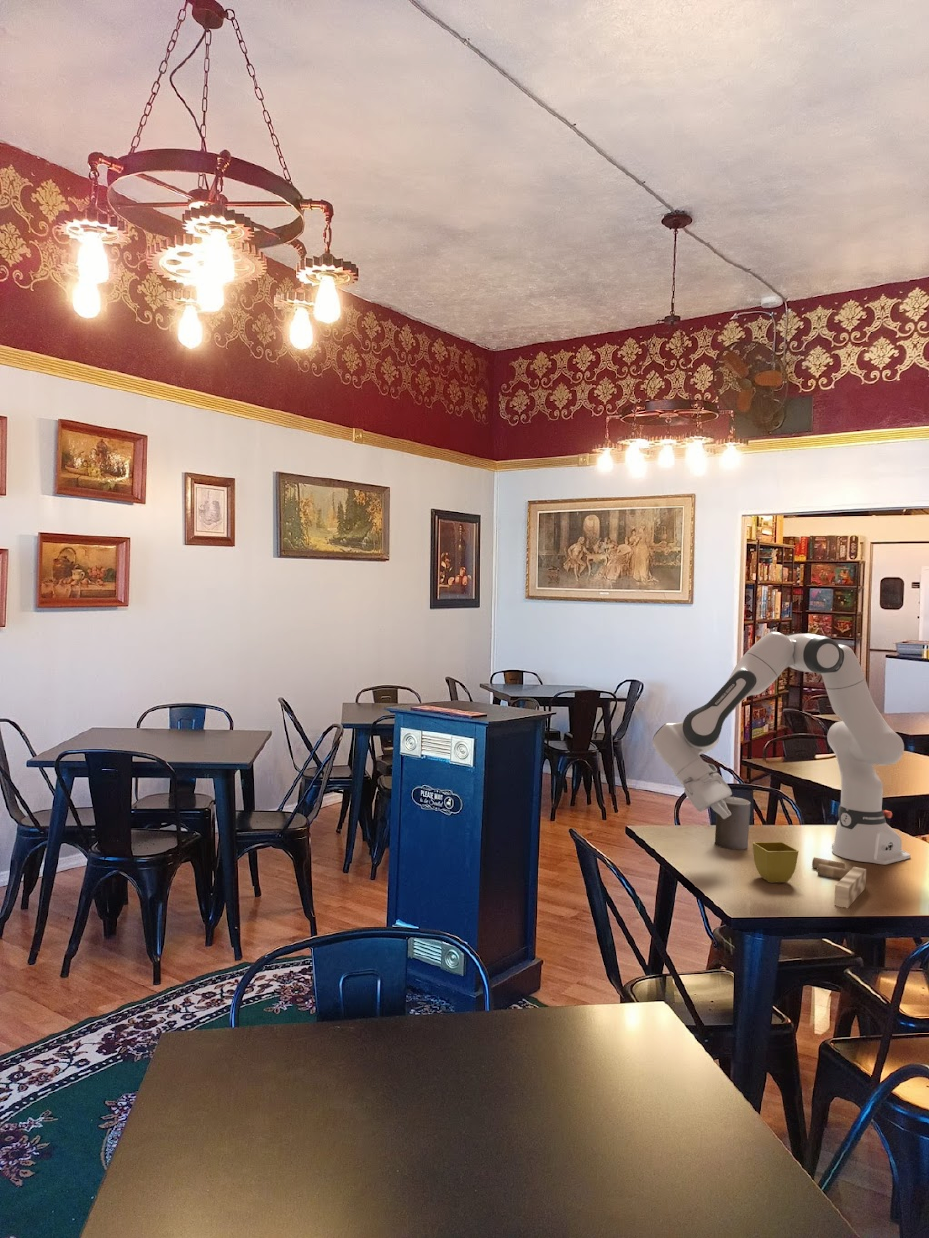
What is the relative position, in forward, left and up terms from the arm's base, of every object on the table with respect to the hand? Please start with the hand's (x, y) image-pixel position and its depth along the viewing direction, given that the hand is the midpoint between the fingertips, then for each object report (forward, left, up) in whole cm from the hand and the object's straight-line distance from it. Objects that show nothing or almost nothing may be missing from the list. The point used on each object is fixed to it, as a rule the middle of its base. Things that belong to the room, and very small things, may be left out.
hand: (727, 816), depth 241 cm
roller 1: (-27, +10, -14) cm, 32 cm away
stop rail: (-16, +28, -14) cm, 35 cm away
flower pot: (-6, +11, -15) cm, 20 cm away
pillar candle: (-18, -19, -15) cm, 30 cm away
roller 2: (-24, +15, -14) cm, 31 cm away
